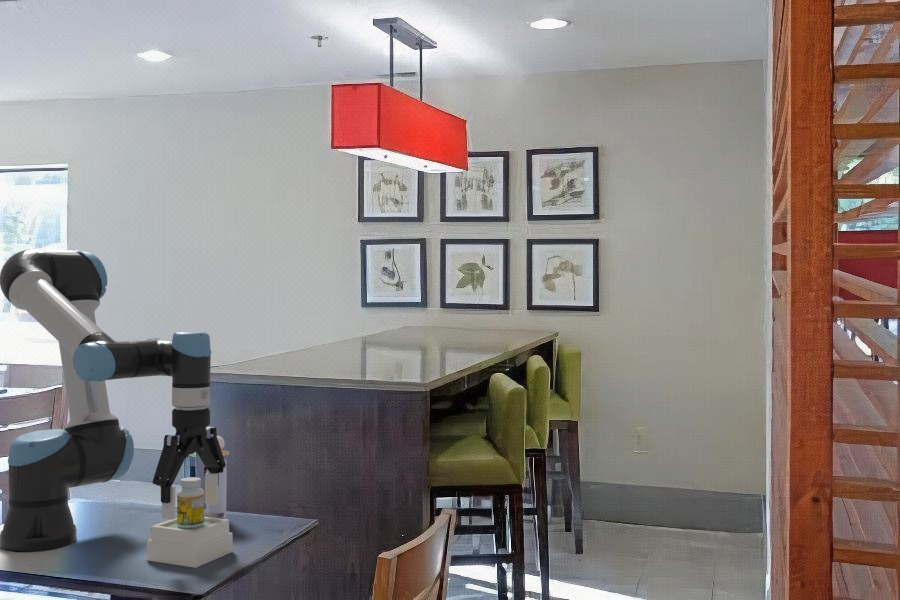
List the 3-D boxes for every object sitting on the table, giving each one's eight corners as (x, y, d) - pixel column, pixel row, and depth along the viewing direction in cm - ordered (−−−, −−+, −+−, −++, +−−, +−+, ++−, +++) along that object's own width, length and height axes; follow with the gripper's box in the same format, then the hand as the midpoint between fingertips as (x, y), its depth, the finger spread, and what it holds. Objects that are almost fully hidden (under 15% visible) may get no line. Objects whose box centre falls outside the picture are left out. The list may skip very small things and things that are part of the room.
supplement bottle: (209, 526, 190) (209, 479, 190) (185, 530, 186) (185, 483, 186) (195, 521, 194) (195, 475, 194) (172, 525, 190) (172, 478, 190)
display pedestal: (146, 560, 187) (147, 526, 187) (185, 545, 198) (185, 513, 198) (195, 567, 182) (195, 533, 182) (232, 551, 193) (232, 519, 193)
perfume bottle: (234, 519, 220) (234, 435, 220) (216, 524, 215) (217, 438, 215) (215, 516, 223) (216, 433, 223) (198, 521, 218) (198, 436, 218)
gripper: (165, 416, 177) (164, 527, 177) (242, 401, 200) (242, 500, 200) (133, 413, 180) (133, 523, 180) (213, 399, 203) (213, 496, 203)
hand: (190, 511), depth 190 cm, fingers open, 13 cm apart
